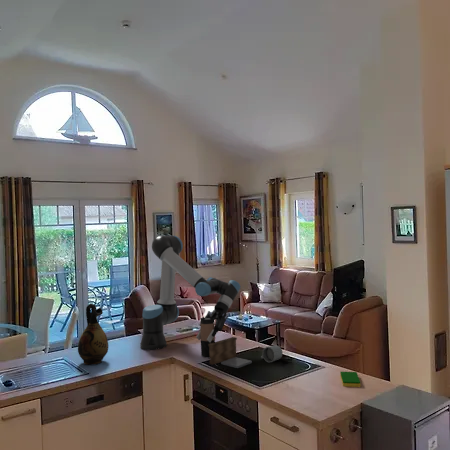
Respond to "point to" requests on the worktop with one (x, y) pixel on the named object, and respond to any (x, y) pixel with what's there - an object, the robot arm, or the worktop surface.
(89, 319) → the ceramic jug
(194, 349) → the worktop surface
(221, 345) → the walnut screen
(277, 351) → the ceramic mug
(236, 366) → the slate tile
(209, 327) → the travel mug
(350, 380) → the dish sponge
